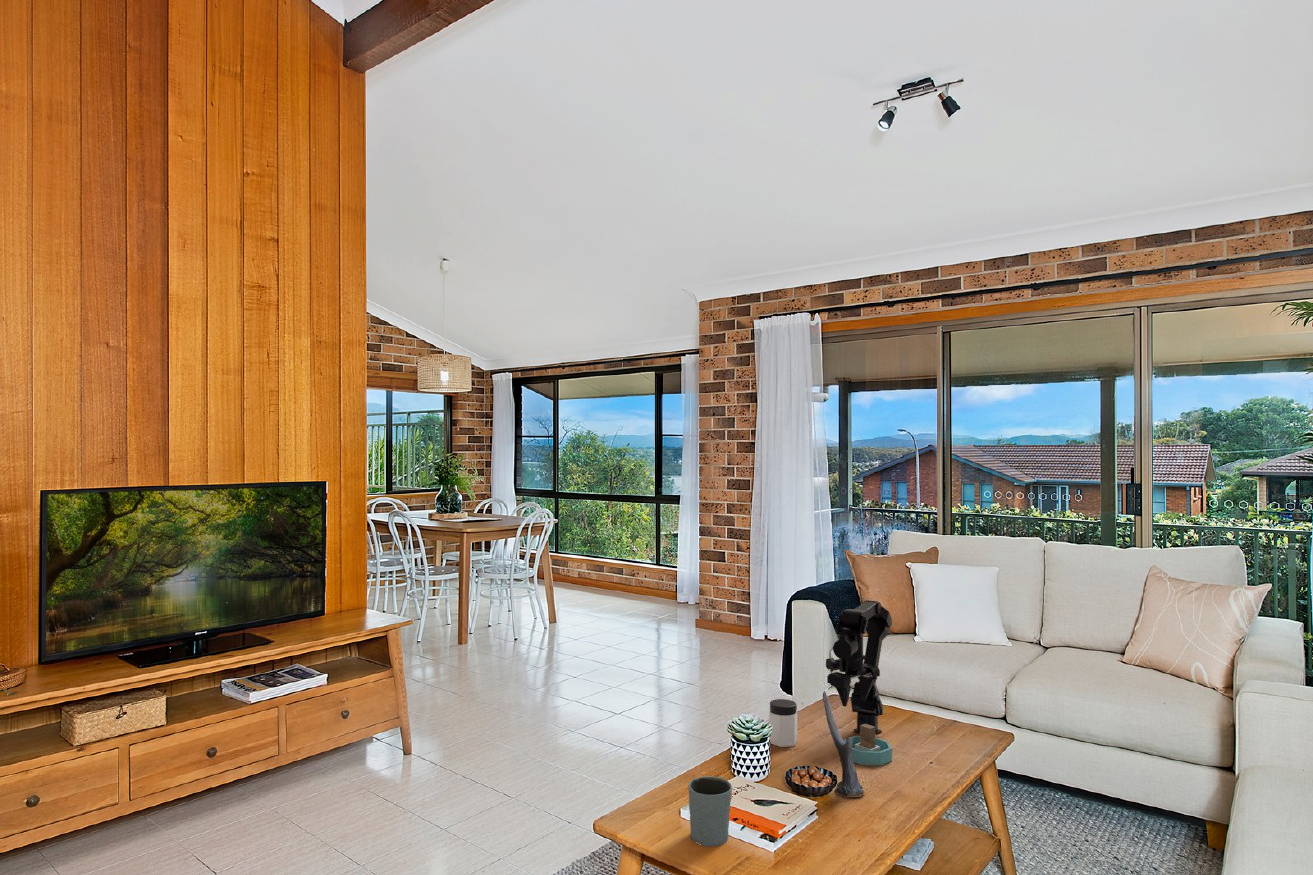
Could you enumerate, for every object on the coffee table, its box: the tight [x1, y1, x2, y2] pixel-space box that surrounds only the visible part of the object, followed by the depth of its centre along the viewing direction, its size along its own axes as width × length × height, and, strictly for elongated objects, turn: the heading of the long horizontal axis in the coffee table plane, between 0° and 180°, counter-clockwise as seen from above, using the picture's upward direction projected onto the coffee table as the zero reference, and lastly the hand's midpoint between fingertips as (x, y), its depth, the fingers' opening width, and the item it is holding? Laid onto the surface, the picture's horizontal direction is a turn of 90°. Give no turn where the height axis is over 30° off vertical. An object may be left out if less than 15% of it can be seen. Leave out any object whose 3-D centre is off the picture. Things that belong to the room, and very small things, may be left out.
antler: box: [822, 691, 866, 799], centre depth 206 cm, size 12×8×25 cm
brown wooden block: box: [859, 724, 876, 749], centre depth 229 cm, size 2×4×8 cm, turn 38°
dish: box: [843, 735, 893, 767], centre depth 229 cm, size 13×13×4 cm
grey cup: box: [687, 775, 733, 847], centre depth 180 cm, size 10×10×12 cm
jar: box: [768, 698, 798, 748], centre depth 241 cm, size 9×8×12 cm
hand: (854, 703), depth 239 cm, fingers open, 9 cm apart
